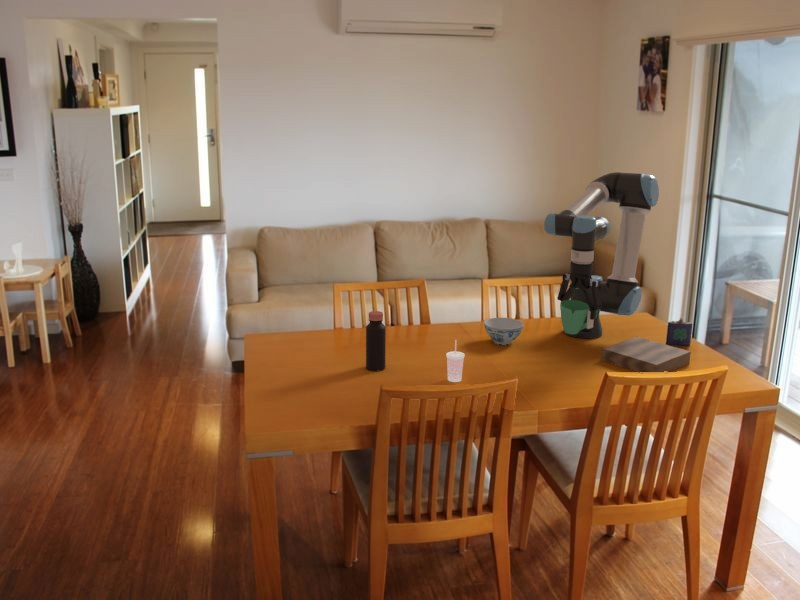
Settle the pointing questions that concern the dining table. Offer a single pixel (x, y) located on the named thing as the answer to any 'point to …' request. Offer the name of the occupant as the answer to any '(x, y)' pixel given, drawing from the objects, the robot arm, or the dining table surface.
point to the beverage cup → (455, 365)
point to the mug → (574, 315)
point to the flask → (679, 333)
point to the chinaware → (503, 329)
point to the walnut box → (645, 355)
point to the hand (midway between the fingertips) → (577, 324)
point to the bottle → (375, 342)
